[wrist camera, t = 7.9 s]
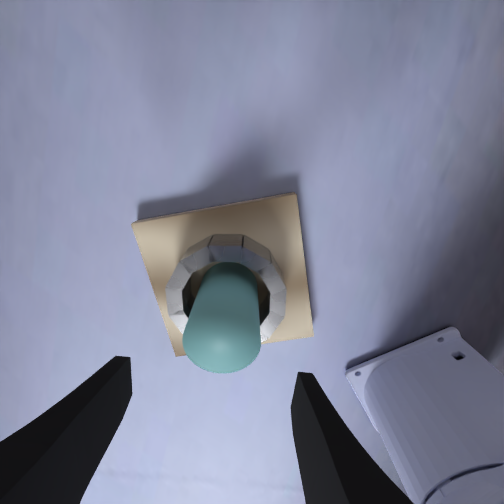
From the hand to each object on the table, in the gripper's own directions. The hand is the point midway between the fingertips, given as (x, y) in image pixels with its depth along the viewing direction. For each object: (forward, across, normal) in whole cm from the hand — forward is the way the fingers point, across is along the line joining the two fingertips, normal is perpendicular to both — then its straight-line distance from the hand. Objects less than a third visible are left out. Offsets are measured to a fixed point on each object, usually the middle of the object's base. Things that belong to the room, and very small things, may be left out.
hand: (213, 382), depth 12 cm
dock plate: (+9, 0, 0) cm, 9 cm away
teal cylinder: (+8, 0, 0) cm, 8 cm away
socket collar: (+9, 0, 0) cm, 9 cm away
